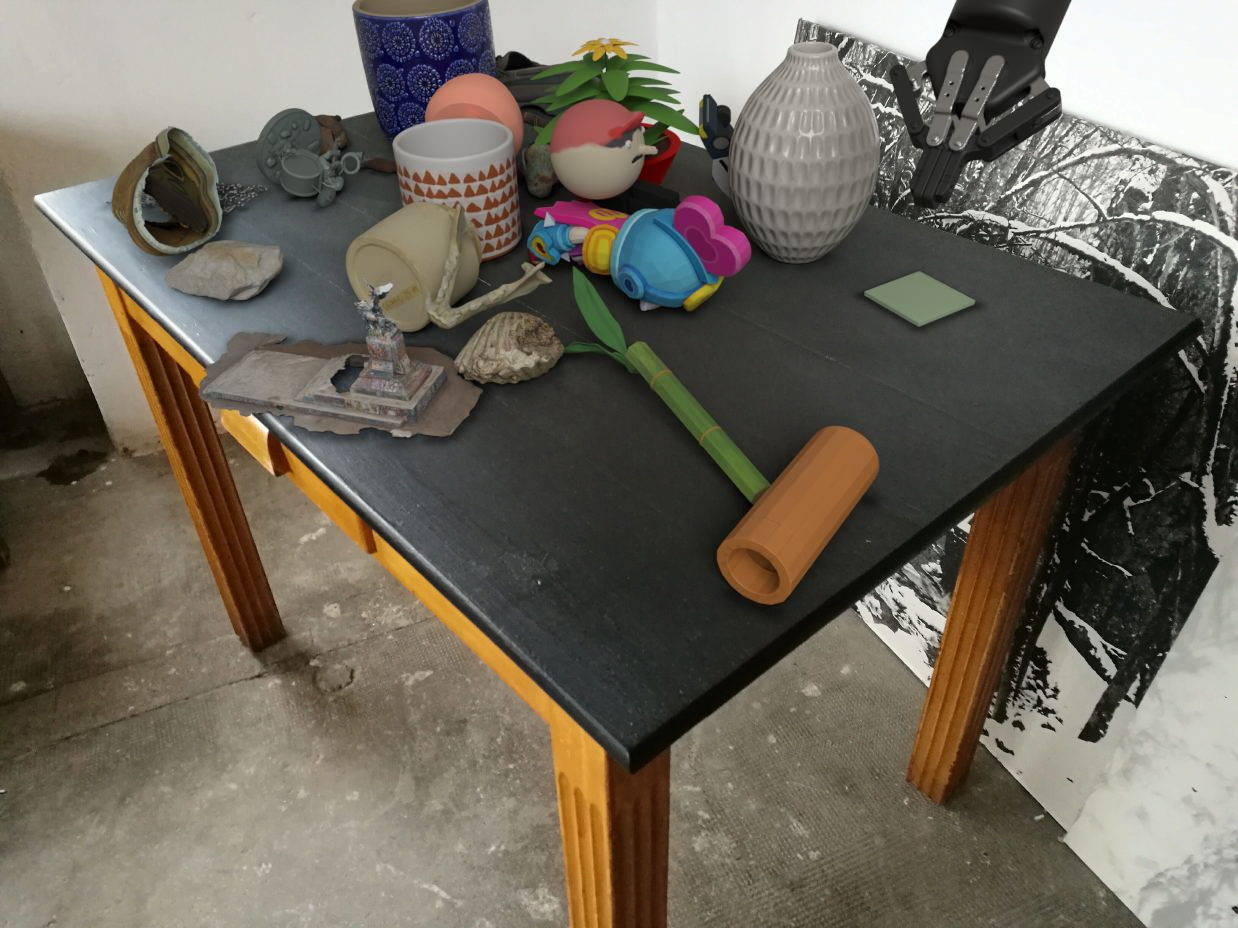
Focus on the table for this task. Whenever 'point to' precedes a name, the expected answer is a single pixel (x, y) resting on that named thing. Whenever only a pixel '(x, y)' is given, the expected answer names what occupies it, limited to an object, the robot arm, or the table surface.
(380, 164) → the knife
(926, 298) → the coaster
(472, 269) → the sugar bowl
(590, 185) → the toy
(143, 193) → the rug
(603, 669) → the table surface
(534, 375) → the seashell
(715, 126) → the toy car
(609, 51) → the potted flower
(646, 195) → the toy
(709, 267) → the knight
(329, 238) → the table surface
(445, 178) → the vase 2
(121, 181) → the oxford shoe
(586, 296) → the decorative plant
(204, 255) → the stone
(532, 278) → the jawbone
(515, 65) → the loafer
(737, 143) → the vase
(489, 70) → the planter
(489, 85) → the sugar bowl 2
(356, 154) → the figurine
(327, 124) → the figurine
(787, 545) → the jar
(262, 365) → the monument
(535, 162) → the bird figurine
